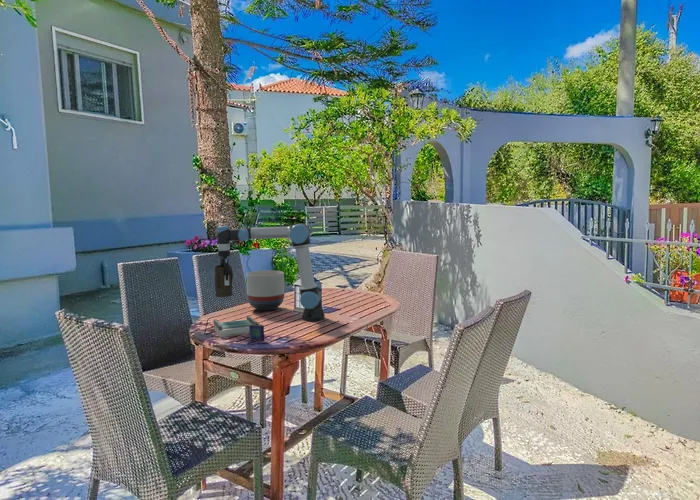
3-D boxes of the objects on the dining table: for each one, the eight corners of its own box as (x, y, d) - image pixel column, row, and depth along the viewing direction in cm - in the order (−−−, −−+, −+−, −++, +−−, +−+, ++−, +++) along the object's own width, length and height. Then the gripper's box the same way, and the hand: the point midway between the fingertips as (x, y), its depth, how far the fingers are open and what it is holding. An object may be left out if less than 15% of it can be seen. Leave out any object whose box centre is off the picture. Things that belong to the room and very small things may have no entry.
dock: (257, 332, 292) (256, 322, 291) (220, 337, 282) (219, 326, 281) (249, 325, 310) (248, 315, 309) (213, 329, 300) (213, 319, 299)
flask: (248, 340, 276) (248, 321, 275) (251, 338, 279) (250, 320, 278) (263, 341, 274) (262, 323, 273) (265, 340, 276) (265, 321, 275)
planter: (274, 315, 336) (273, 276, 333) (240, 312, 345) (239, 275, 342) (290, 306, 361) (290, 271, 359) (259, 304, 370) (258, 269, 367)
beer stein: (227, 297, 305) (227, 266, 304) (211, 297, 307) (211, 265, 306) (237, 294, 320) (237, 264, 319) (222, 293, 322) (222, 264, 321)
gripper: (214, 248, 319) (216, 281, 321) (221, 252, 298) (222, 287, 300) (226, 248, 322) (227, 280, 324) (233, 251, 301) (234, 286, 303)
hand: (225, 283), depth 312 cm, fingers closed on beer stein, 11 cm apart
